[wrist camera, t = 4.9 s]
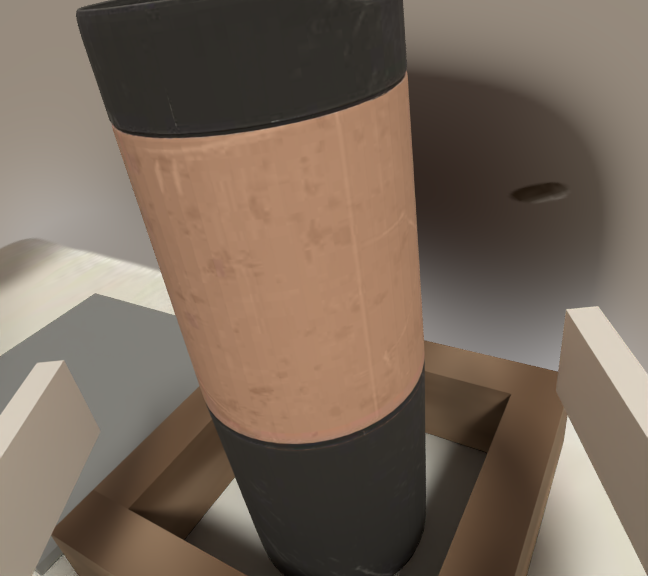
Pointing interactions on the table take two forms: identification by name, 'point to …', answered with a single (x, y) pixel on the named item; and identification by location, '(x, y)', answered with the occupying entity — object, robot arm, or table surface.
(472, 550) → the frame
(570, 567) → the table surface
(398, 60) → the travel mug
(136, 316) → the rubber mat
